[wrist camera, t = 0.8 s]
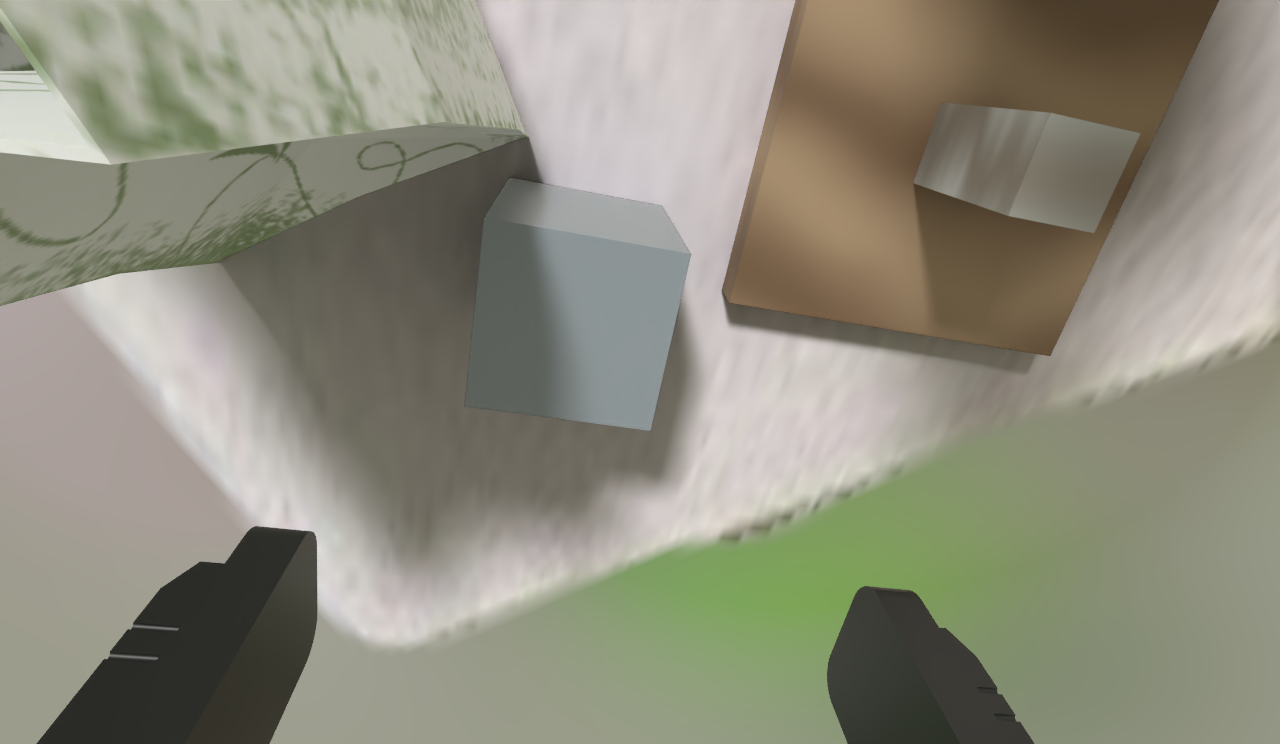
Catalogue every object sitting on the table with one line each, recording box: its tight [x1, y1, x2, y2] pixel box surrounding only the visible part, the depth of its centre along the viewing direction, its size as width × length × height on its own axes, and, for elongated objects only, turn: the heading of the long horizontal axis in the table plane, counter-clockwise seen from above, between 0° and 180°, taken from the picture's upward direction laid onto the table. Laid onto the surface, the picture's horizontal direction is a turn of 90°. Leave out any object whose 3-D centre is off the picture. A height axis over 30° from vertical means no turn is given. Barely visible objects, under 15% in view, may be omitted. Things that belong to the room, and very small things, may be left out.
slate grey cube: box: [464, 177, 691, 431], centre depth 23 cm, size 6×6×7 cm
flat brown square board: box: [722, 0, 1219, 356], centre depth 22 cm, size 14×14×8 cm
